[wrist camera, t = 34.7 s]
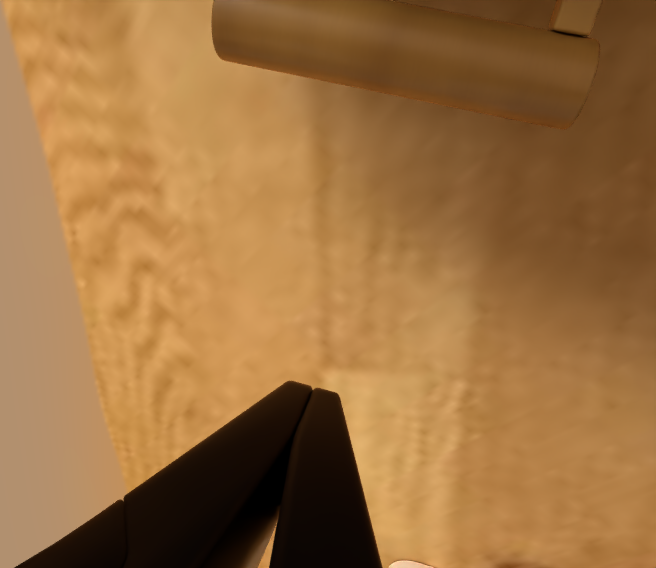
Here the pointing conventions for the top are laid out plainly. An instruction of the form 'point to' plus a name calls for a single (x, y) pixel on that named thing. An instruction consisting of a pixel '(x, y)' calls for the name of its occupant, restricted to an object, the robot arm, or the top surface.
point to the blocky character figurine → (408, 565)
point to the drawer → (422, 52)
